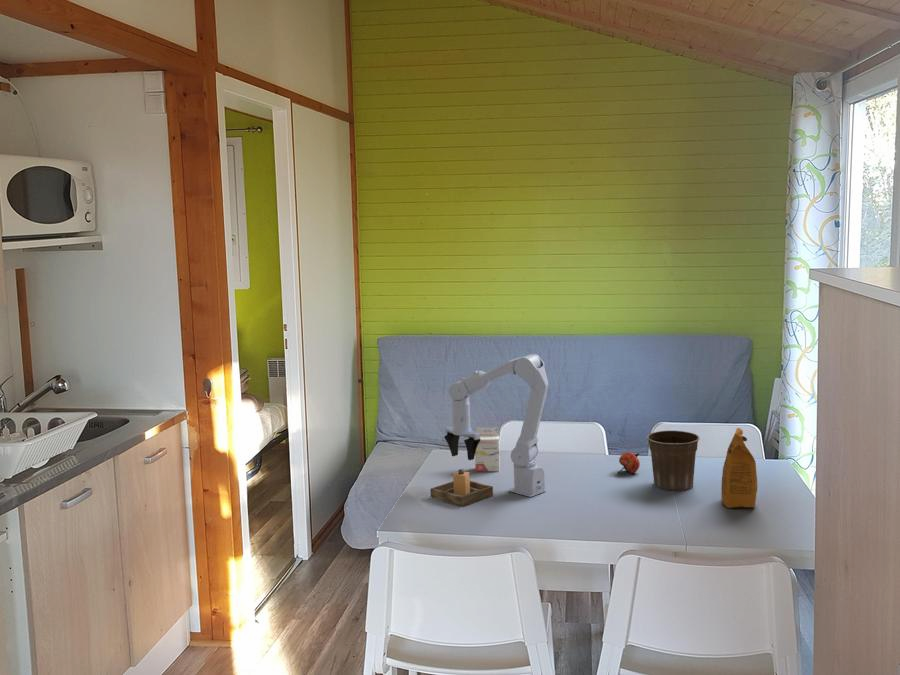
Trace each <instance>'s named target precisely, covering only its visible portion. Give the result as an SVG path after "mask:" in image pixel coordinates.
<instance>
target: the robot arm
mask: <svg viewBox="0 0 900 675" xmlns="http://www.w3.org/2000/svg"><path fill="white" fill-rule="evenodd" d="M545 365H546V364H545V362H544V361H543V360H542V358H541V357H540V356H539V355H538V354H535V353H527V355H525V356H524V355H523V356H519V357H516V358H513V359H510V360H508V361H506V362H504V363H502V364H500V365H498V366H496V367H494V368H492V369H490V370H489V371H487V372H485V371H484V370H479V371H478V370H475V371H473V372H472V374H471V375H469V376H466V377H461V378H460V380H458V381H456V382H455V381H454V382H453V383H452V384H451V385H450V386H449V388H448V394H449V396H450V397H451V402H452V403H451V405H452V407H451V408H452V426H447V427H444V434H445V435H444V440H445V441H446V443H447V445H448V447H449V451H450V453H451V456H452V457H457V456H458V455H459V441H460V437H463V438H467V439H464V440H463V441H464V444H465V447H466V454H467V460H468V461H473V460H475V452H476V449H477V446H478V444H479V442H480V433H477V432H476V430H473V428H471V410H470V409H471V405H470V404H471V403H470V396H471V395H473V394H476V393H478V392H480V391H482V390H484V389H486V388H488V387H489V385H490V382H492V381H494V380H496V379H498V378H500V377H503V376H505V375H508V374H510V375H513V376H515V375H517V376H518V377H519V378H520V379H522V380H523V381H524V382H526V383H527V385H528V386H529V387H530V392H529V398H528V400H527V405H526V409H525V413H524V418H523V423H522V427H521V430H520V431H521V432H520V435H519V437H518V439H517V441H516V444H515V447H514V448H513V449H512V450H511V453H510V460H511V462H512V463H513V486H514V487H513V488H509V489H508V492H511V493H515V494H518V495H522V496H526V497H530V498H531V497H534V496H537V495H539V494H542V493H545V492H547V489H546V488H545V487H546V486H545V471H544V469H543V468H542V467H540V466H538V465H537V461H536V457H537V456H538V453H539V447H538V441H539V439H538V437H537V436H538V432H539V427H540V424H541V418H542V414H543V411H544V408H545V407H544V406H545V403H546V402H545V401H546V398H547V394H548V389H549V384H550V383H549V380H548V376H547V373H546V369H545Z"/></svg>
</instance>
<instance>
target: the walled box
mask: <svg viewBox="0 0 900 675" xmlns="http://www.w3.org/2000/svg"><path fill="white" fill-rule="evenodd" d="M429 490H430V498H431V497H432V498H431V499H433V498H435V500H437V499H438V500H437V501H440V500H442V501H441V502H443V501H445V502H444V503H447V502H448V504H450V503H451V504H450V505H454V504H455V505H454V506H457V505H458V506H457V507H460V506H461V508H462V507H465V506H469V505H471V503H472V504H474V503H477V502H479V501H483V500H485V499H487V498H488V499H489V498H491V497H493V496H494V487H493V486H492V485H489V484H484V483H481V482H476V481H473V480H470V493H468V494H465V495H462V496H461V495H458V494H454V484H453V480H452V481H450V482H447V483H444V484H439V485H437V486H435V487H432V488H430V489H429ZM468 504H469V505H468Z"/></svg>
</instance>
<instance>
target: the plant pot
mask: <svg viewBox="0 0 900 675" xmlns="http://www.w3.org/2000/svg"><path fill="white" fill-rule="evenodd" d="M646 439H647V441H648V447H649V450H650V457H651V464H652V466H651V467H652V475H653V484H654V487H656V488H658V489H660V490H664V491H672V490H675V491H676V492H677V491H687V490H689V489H692V488H693V487H694V480H695V466H696V465H695V463H696V456H697V451H698V446H699V445H698V444H699V440H700V436H699V435H698V434H696V433H693V432H690V431H685V430H659V431H655V432H651V433H649V434H647V435H646Z"/></svg>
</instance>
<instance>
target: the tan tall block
mask: <svg viewBox="0 0 900 675" xmlns="http://www.w3.org/2000/svg"><path fill="white" fill-rule="evenodd" d="M452 476H453V478H452V479H453V480H452V481H453V484H454V494H458V495H461V496H462V495H465V494H468V493H470V481H471V478H470V472H469V471H465V469H463V468H461V469H460V468H459V469H458V470H457V471H456V472H455V473H454V474H453V475H452Z"/></svg>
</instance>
